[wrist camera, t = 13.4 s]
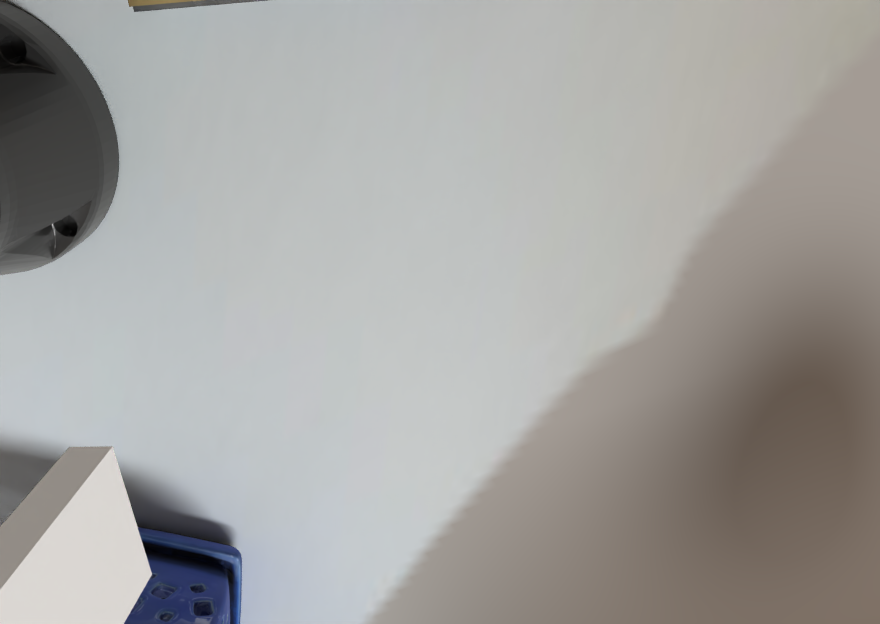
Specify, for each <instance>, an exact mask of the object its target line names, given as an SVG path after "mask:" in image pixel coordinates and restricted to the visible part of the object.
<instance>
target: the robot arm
mask: <svg viewBox="0 0 880 624" xmlns="http://www.w3.org/2000/svg"><path fill="white" fill-rule="evenodd" d="M118 172H119V152H118V143H117V136H116V132H115V127H114V124H113V120H112V117H111V114H110V111H109V108H108V106H107V104H106V101H105V99H104V97H103V95H102V93H101V91H100V89H99V87H98V85H97V83H96V82H95V80H94V78H93V77H92V75H91V74H90V72H89V71H88V69H87V68H86V66H85V65H84V64H83V62H82V61H81V60H80V59H79V57H78V56H77V55H76V54H75V53H74V52H73V50H72V49H71V48H70V47H69V46H68V45H67V44H66V43H65V42H64V41H63V40H62V39H61V38H60V37H59V36H58V35H56V34H55V33H54V32H53V31H52V30H51V29H49V28H48V27H47V26H46V25H44V24H43V23H41V22H40V21H39V20H37V19H36V18H34V17H33V16H31V15H29V14H28V13H26V12H24V11H23V10H21V9H19V8H17V7H15V6H13V5H10V4H8V3H6V2H4V1H1V0H0V275H5V274H11V273H18V272H24V271H28V270H32V269H35V268H38V267H41V266H44V265H46V264H48V263H50V262H53V261H55V260H56V259H58V258H60V257H61V256H63V255H64V254H66V253H67V252H69V251H70V250H71V249H73V248H74V247H76V246H77V245H78V244H80V243H81V242H82V241H84V240H85V239H86V238H87V237H88V236H90V235H91V234H92V233H93V232H94V230H95V229H96V228H97V227H98V226H99V224H100V223H101V222H102V220H103V219H104V217H105V215H106V213H107V212H108V210H109V207H110V205H111V203H112V200H113V197H114V194H115V190H116V186H117V180H118ZM151 575H152V572H151V569H150V566H149V563H148V559H147V556H146V553H145V550H144V547H143V543H142V540H141V537H140V534H139V530H138V527H137V524H136V521H135V517H134V514H133V511H132V508H131V504H130V501H129V498H128V495H127V491H126V488H125V485H124V482H123V479H122V475H121V472H120V469H119V466H118V462H117V459H116V456H115V453H114V449H113V446H112V447H69V448H68V449H67V450H66V451H65V453H64V454H63V455H62V456H61V457H60V458H59V460H58V461H57V462H56V463H55V464H54V465H53V466H52V468H51V469H50V470H49V471H48V472H47V473H46V475H45V476H44V477H43V478H42V479H41V480H40V482H39V483H38V484H37V485H36V486H35V487H34V488H33V490H32V491H31V492H30V493H29V494H28V495H27V497H26V498H25V499H24V500H23V501H22V502H21V503H20V505H19V506H18V507H17V508H16V509H15V510H14V512H13V513H12V514H11V515H10V516H9V517H8V518H7V520H6V521H5V522H4V523H3V524H2V525H1V527H0V624H124V622H125V621H126V619H127V617H128V615H129V614H130V612H131V610H132V608H133V607H134V605H135V603H136V601H137V600H138V598H139V596H140V594H141V593H142V591H143V589H144V587H145V586H146V584H147V582H148V580H149V579H150V577H151Z"/></svg>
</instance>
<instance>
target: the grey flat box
mask: <svg viewBox="0 0 880 624" xmlns="http://www.w3.org/2000/svg"><path fill="white" fill-rule="evenodd" d="M254 1H266V0H128V3H129V7H131V6H133V9H134V12H138V11H150V10H161V9H173V8H184V7H196V6H208V5H219V4H231V3H242V2H254Z"/></svg>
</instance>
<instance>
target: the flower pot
mask: <svg viewBox="0 0 880 624" xmlns="http://www.w3.org/2000/svg"><path fill="white" fill-rule="evenodd" d="M138 530H139V534H140V537H141V540H142V543H143V547H144V550H145V553H146V556H147V559H148V563H149V566H150V569H151V572H152V575H151V577H150V579H149V580H148V582H147V584H146V586H145V587H144V589H143V591H142V593H141V594H140V596H139V598H138V600H137V601H136V603H135V605H134V607H133V608H132V610H131V612H130V614H129V615H128V617H127V619H126V621H125V622H124V624H240V614H241V585H242V558H241V554H240V552H239V551H238V550H237V549H236V548H234V547H232V546H229V545H224V544H220V543H215V542H210V541H206V540H201V539H196V538H192V537H187V536H182V535H177V534H172V533H167V532H162V531H157V530H151V529H146V528H141V527H138Z"/></svg>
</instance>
